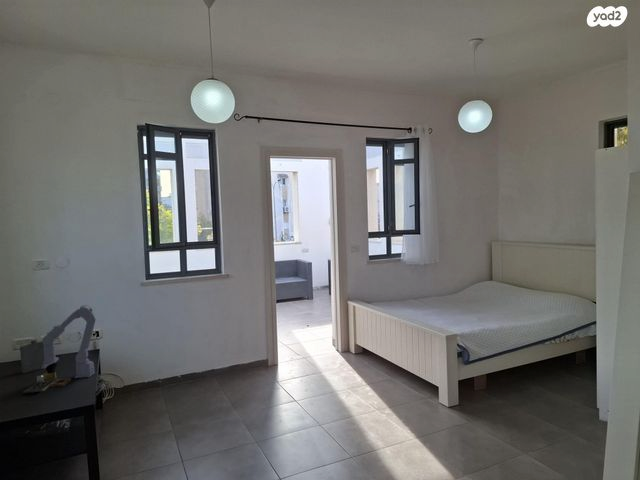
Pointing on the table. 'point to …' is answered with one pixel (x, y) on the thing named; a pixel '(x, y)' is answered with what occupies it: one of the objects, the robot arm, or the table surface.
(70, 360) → the table surface
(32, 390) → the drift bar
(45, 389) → the socket board
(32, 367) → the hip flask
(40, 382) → the steel peg
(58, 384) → the frame
